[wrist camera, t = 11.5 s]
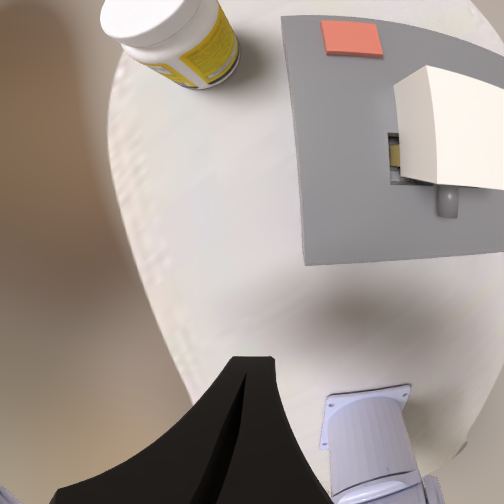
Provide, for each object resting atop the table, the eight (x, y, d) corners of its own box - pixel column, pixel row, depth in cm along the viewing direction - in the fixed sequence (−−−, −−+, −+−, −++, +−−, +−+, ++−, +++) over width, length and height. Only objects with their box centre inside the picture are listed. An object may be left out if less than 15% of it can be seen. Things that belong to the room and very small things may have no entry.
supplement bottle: (237, 22, 13) (202, -56, 5) (245, 83, 14) (207, 22, 6) (167, 38, 14) (97, -16, 6) (170, 97, 15) (87, 64, 7)
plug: (453, 206, 14) (509, 229, 9) (388, 205, 15) (434, 230, 10) (449, 102, 12) (504, 89, 7) (382, 92, 13) (426, 65, 7)
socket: (496, 240, 15) (520, 253, 12) (302, 251, 17) (305, 270, 14) (486, 63, 11) (509, 55, 8) (281, 33, 13) (280, 11, 10)
